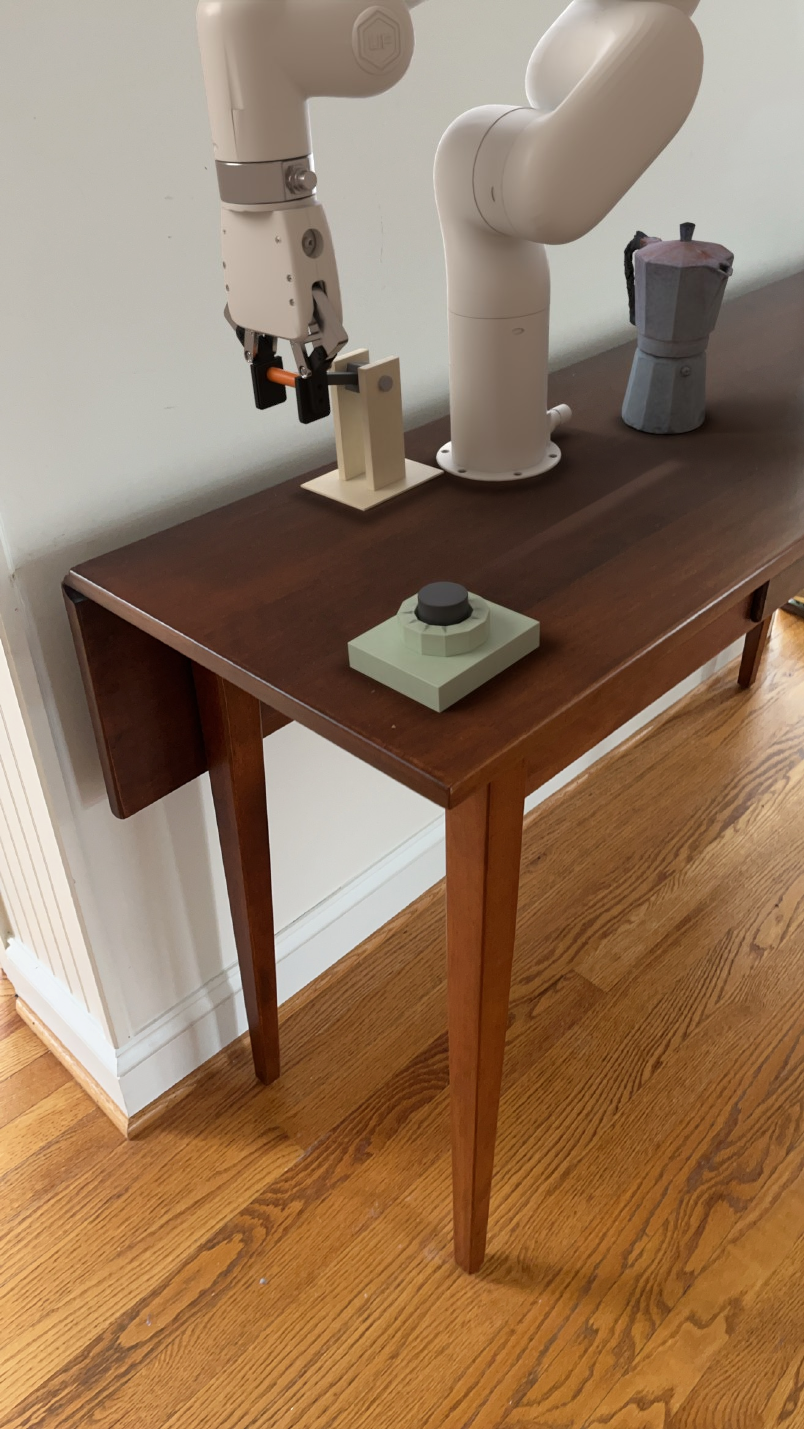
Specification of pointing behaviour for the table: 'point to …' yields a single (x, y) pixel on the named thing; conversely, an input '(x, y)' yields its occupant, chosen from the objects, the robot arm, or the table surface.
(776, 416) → the table surface
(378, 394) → the pivot handle stand
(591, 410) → the table surface
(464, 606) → the socket button
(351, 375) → the orange grip lever
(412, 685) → the socket block
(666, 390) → the moka pot
